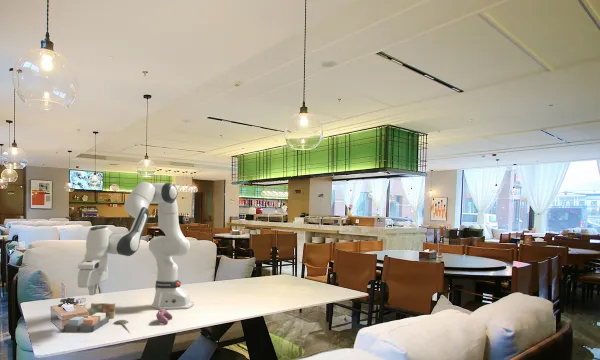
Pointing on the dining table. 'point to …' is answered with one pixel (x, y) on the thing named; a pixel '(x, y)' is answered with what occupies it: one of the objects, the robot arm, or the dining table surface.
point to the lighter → (67, 301)
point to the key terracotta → (90, 321)
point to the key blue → (76, 321)
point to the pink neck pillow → (163, 316)
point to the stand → (103, 309)
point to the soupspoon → (122, 323)
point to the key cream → (99, 316)
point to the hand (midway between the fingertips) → (92, 294)
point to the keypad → (85, 326)
